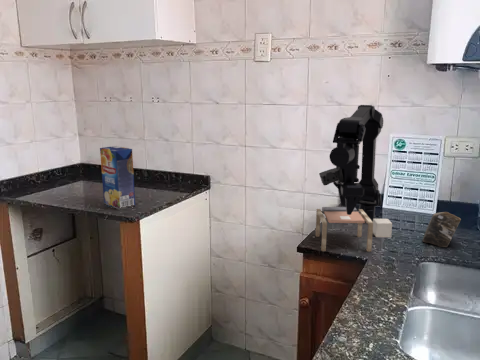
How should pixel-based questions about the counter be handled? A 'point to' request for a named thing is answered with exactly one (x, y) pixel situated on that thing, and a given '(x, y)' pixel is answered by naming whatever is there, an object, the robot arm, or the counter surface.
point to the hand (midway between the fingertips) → (345, 209)
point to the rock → (441, 229)
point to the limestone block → (382, 227)
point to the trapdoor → (342, 215)
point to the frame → (359, 230)
